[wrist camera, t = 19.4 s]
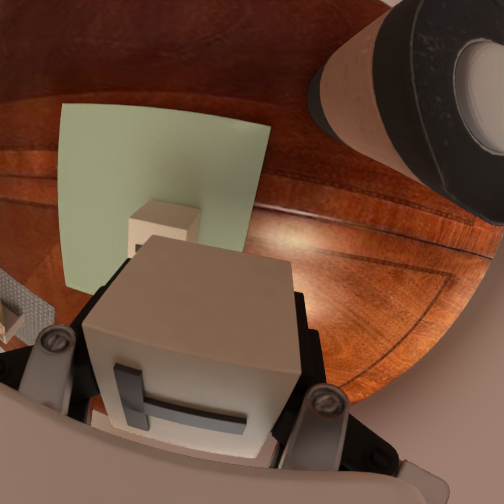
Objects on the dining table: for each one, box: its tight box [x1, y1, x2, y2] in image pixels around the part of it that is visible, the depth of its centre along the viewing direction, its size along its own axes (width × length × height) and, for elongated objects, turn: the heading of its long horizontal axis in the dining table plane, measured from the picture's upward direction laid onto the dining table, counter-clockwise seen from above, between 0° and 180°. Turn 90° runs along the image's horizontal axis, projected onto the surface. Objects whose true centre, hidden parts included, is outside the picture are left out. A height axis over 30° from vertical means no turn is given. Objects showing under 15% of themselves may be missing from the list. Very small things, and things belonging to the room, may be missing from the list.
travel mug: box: [307, 0, 504, 226], centre depth 13 cm, size 8×8×20 cm
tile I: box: [128, 199, 201, 258], centre depth 25 cm, size 5×5×5 cm
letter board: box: [58, 103, 271, 295], centre depth 28 cm, size 22×21×1 cm
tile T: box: [82, 235, 301, 459], centre depth 9 cm, size 5×5×5 cm
